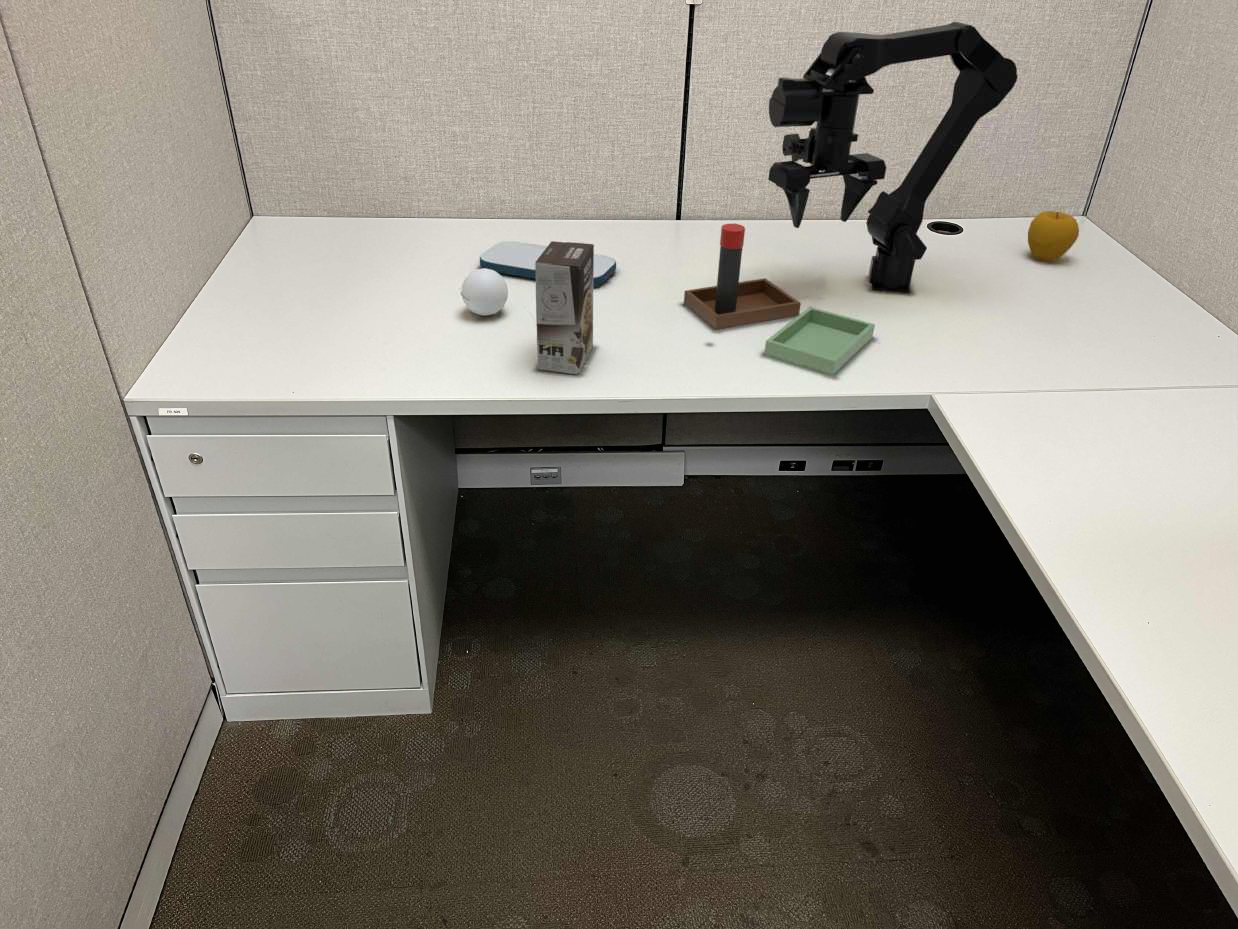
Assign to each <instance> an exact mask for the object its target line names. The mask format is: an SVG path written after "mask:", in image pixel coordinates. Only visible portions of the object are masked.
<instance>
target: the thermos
mask: <svg viewBox="0 0 1238 929" xmlns="http://www.w3.org/2000/svg"><path fill="white" fill-rule="evenodd" d="M745 232H746V227H745V226H744V225H742V224H739V223H725V224H722V225H721V228H720V240H719V245H720V246H719V258H718V259H719V260H718V271H717V278H716V279H717V280H716V286H717V290H716V301H715V313H717V314H718V315H719V314H725V313H731V312H736V304H737V294H738V285H739V282H740V273H741V264H742V255H743V247H744V242H745V234H746V233H745Z"/></svg>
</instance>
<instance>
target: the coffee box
mask: <svg viewBox="0 0 1238 929" xmlns="http://www.w3.org/2000/svg"><path fill="white" fill-rule="evenodd" d="M546 246H547V248H546V249H545V250H544V252H543V253H542V254H541V256H540V257H539V258H538V259H537V261H536V262H535V276H536V279H535V312H536V313H535V314H536V315H535V316H536V317H535V318H536V320H535V321H536V352H537V354H536V355H537V361H536V362H537V369H538V370H539V371H548V372H549V371H550V372H555V373H557V372H558V373H563V374H571V375H580V373H581V371H582V369H583V367H584V365H585V364H586V362H587V360H588V358H589V356H590V354H591V352H592V350H593V348H594V286H593V267H594V254H595V253H594V252H595V250H594V248H595V244H593V243H583V242H571V241H570V242H569V241H566V242H564V241H555V240H551V241H550V243H549V244H548V245H546Z"/></svg>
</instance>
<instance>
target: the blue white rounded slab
mask: <svg viewBox="0 0 1238 929" xmlns="http://www.w3.org/2000/svg"><path fill="white" fill-rule="evenodd" d="M547 246H548V245H541V244H534V243H526V242H522V241H521V242H520V241H501V242H498V243H496V244H494V245H492V247H490V248H488V249H487V250H486V251H484V252H483V253H482V254H480V256H479V266H480V267H481V269H482V268H486V269H490V270H494V271H496V272H497V273H498V274H505V275H511V276H519V277H524V278H530V279H534V280H536V276H535V262H536V261H537V259H538V258H539V257H540V256H541V254H542V253H543V252H544V250H545V249H546V248H547ZM616 270H617V262H616V259H615V258H613V257H611V256H607V255H603V254H597V253H594V267H593V287H598V286H600V285H601V286H602V285H603V284H604V283H605V282H606V281H607V280H608V279H609V278H610V277H611V276H612V275H613V274H614V273H615V272H616Z"/></svg>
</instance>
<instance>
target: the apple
mask: <svg viewBox="0 0 1238 929" xmlns="http://www.w3.org/2000/svg"><path fill="white" fill-rule="evenodd" d="M1079 234H1080V228H1079V223H1078V221H1077V219H1076V218H1075V217H1074V216H1072V215H1071V214H1067V213H1065V212H1062V211H1061V212H1060V211H1054V210H1044V211H1042V212H1040V213H1038V214H1037V215H1036V216H1035V217H1033V219H1032V220H1031V222H1030V224H1029V227H1028V231H1027V243H1028V247H1029V251H1030V254H1031V255H1032V257H1033V258H1034V259H1036V260H1039V261H1042V262H1047V263H1051V262H1055V261H1057V260H1059V259H1060V258H1062V257H1063V256H1064V255H1065V254H1066V253H1067V252H1068V251H1069V250H1070V249H1071V248H1072V247H1073V246H1074V244H1075V243H1076V241H1077V240H1078V237H1079Z"/></svg>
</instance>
